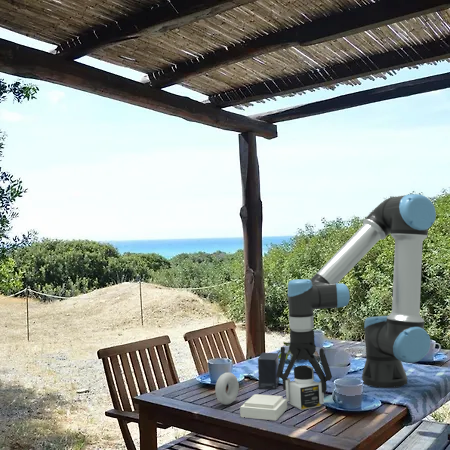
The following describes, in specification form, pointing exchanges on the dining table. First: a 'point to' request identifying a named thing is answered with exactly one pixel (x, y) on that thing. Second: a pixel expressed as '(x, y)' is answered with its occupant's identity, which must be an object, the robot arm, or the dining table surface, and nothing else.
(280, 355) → the passion flower
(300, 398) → the medicine bottle
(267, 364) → the small box
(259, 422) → the dining table surface
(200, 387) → the dining table surface
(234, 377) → the donut
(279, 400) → the plinth
